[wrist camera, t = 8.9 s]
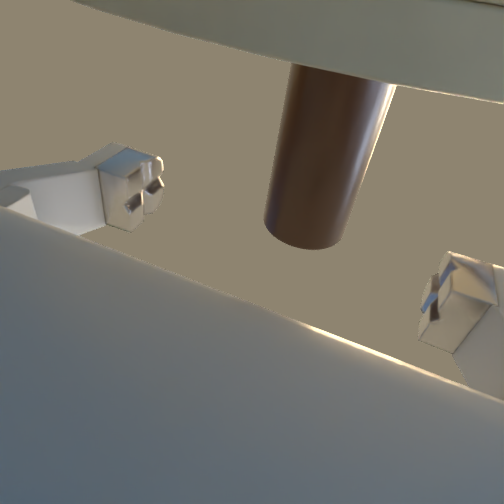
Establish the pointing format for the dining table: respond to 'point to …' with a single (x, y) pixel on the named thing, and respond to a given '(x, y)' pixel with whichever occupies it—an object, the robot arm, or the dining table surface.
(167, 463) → the robot arm
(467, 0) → the lid
